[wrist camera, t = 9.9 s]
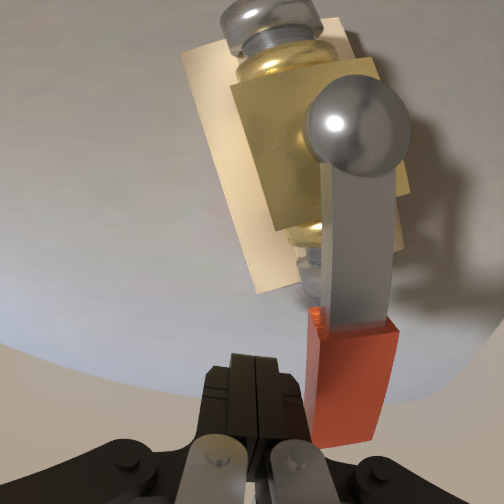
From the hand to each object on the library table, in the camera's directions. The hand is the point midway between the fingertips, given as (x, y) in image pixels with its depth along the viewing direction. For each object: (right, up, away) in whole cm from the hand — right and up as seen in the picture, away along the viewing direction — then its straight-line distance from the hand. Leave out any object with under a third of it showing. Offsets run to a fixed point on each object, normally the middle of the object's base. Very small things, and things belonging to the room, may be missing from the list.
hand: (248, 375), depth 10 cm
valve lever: (+3, +3, -1) cm, 5 cm away
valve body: (+3, +10, +5) cm, 11 cm away
